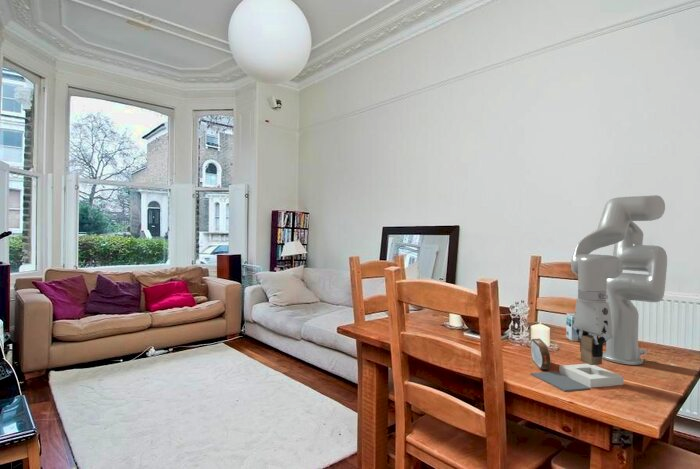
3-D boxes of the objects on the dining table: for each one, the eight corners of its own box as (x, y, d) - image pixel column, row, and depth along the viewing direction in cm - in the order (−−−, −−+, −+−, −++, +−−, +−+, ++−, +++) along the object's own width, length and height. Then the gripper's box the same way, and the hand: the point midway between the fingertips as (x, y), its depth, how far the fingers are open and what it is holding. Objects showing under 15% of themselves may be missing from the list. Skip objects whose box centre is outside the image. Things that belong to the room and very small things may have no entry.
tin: (551, 373, 126) (551, 347, 126) (540, 372, 127) (541, 346, 127) (538, 359, 141) (538, 336, 141) (529, 358, 141) (529, 335, 141)
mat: (554, 372, 127) (554, 371, 127) (590, 389, 113) (590, 387, 113) (530, 374, 125) (530, 373, 125) (564, 391, 111) (564, 390, 111)
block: (591, 360, 124) (591, 335, 124) (601, 364, 121) (602, 338, 120) (580, 360, 123) (581, 335, 123) (591, 365, 120) (591, 339, 120)
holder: (589, 371, 129) (590, 363, 129) (623, 384, 117) (623, 376, 117) (559, 373, 126) (559, 365, 126) (590, 387, 114) (590, 379, 114)
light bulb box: (571, 341, 167) (571, 316, 167) (565, 337, 173) (565, 313, 173) (598, 342, 165) (599, 317, 165) (591, 338, 171) (591, 314, 172)
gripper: (626, 300, 115) (625, 362, 115) (580, 291, 131) (579, 345, 131) (605, 301, 113) (604, 364, 113) (561, 292, 129) (560, 347, 129)
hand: (591, 353), depth 122 cm, fingers closed on block, 4 cm apart
